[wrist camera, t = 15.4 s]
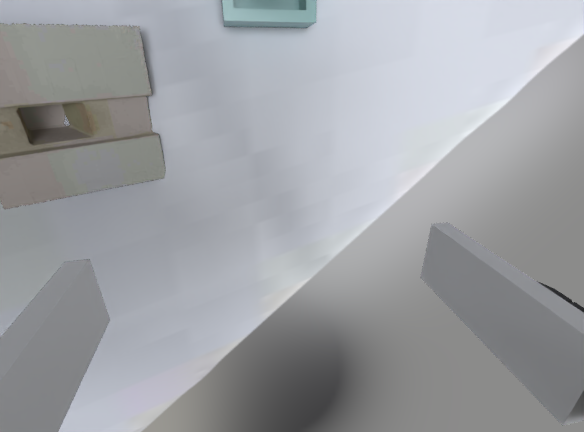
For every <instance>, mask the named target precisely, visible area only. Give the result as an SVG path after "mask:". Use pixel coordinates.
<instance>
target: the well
mask: <svg viewBox="0 0 584 432" xmlns="http://www.w3.org/2000/svg"><path fill="white" fill-rule="evenodd" d="M222 9H223V20H224V26H229V27H285V28H307V27H309V26H311V25H312V24H314V23H316V0H222Z"/></svg>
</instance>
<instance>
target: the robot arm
mask: <svg viewBox="0 0 584 432" xmlns="http://www.w3.org/2000/svg"><path fill="white" fill-rule="evenodd" d="M421 279H422V280H423V281H424V282H425V283H426V284H427V285H428V286H429V287H430V288H431V289H432V290H433V291H434V292H435V293H436V295H437V296H438V297H439V298H440V299H441V300H442V301H443V302H444V303H445V304H446V305H447V306H448V307H449V308H450V309H451V310H452V311H453V312H454V313H455V314H456V315H457V316H458V317H459V318H460V320H461V321H462V322H463V323H464V324H465V325H466V326H467V327H468V328H469V329H470V330H471V331H472V332H473V333H474V334H475V335H476V336H477V337H478V338H479V339H480V340H481V341H482V342H483V344H485V346H486V347H487V348H488V349H489V350H490V351H491V352H492V353H493V354H494V355H495V356H496V357H497V358H498V359H499V360H500V361H501V362H502V363H503V364H504V365H505V366H506V367H507V369H508V370H510V372H511V373H512V374H513V375H514V376H515V377H516V378H517V379H518V380H519V381H520V382H521V383H522V384H523V385H524V386H525V387H526V388H527V389H528V390H529V391H530V392H531V393H532V395H533V396H534V397H535V398H536V399H537V400H538V401H539V402H540V403H541V404H542V405H543V406H544V407H545V408H546V409H547V410H548V411H549V412H550V413H551V414H552V415H553V416H554V418H555V419H557V421H558V422H559V423H561V425H562V426H563V425H568V424H572V423H575V422H580V421H584V308H583V307H581V306H580V305H578V304H577V303H575V302H574V303H573V302H572V300H571V299H569V298H567V297H566V296H565V295H563V294H562V293H560V292H558V291H557V290H555V289H553V288H551V287H549V286H547V285H544V284H542V283H540V282H538V281H535V280H533V279H532V278H531V277H529V276H528V275H526V274H525V273H523V272H522V271H520V270H519V269H517V268H516V267H514V266H513V265H511V264H510V263H508V262H507V261H505V260H504V259H502V258H501V257H499V256H498V255H496V254H495V253H493V252H492V251H490V250H489V249H487V248H486V247H484V246H483V245H481V244H480V243H478V242H477V241H475V240H474V239H472V238H471V237H469V236H468V235H466V234H464V233H463V232H462V231H460V230H459V229H457V228H456V227H454V226H453V225H451V224H450V223H448V222H446V223H436V224H432V225H431V229H430V234H429V239H428V244H427V248H426V254H425V258H424V263H423V268H422V273H421ZM109 321H110V318H109V315H108V312H107V309H106V306H105V303H104V300H103V297H102V295H101V292H100V289H99V286H98V283H97V280H96V277H95V274H94V271H93V268H92V265H91V262H90V259H86V260H77V261H67V262H64V263H63V265H62V266H61V267H60V268H59V269H58V270H57V272H56V273H55V274H54V275H53V276H52V278H51V279H50V280H49V281H48V282H47V283H46V285H45V286H44V287H43V288H42V289H41V290H40V292H39V293H38V294H37V295H36V296H35V298H34V299H33V300H32V301H31V302H30V303H29V305H28V306H27V307H26V308H25V309H24V310H23V312H22V313H21V314H20V315H19V316H18V318H17V319H16V320H15V321H14V322H13V323H12V325H11V326H10V327H9V328H8V329H7V330H6V332H5V333H4V334H3V335H2V336H1V338H0V432H58V431H59V429H60V427H61V425H62V422H63V420H64V418H65V416H66V414H67V412H68V409H69V407H70V405H71V403H72V401H73V399H74V397H75V394H76V392H77V390H78V388H79V386H80V384H81V381H82V379H83V377H84V375H85V373H86V371H87V369H88V366H89V364H90V362H91V360H92V358H93V356H94V354H95V351H96V349H97V347H98V345H99V343H100V341H101V338H102V336H103V334H104V332H105V330H106V328H107V326H108V323H109Z"/></svg>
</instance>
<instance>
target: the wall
mask: <svg viewBox="0 0 584 432" xmlns="http://www.w3.org/2000/svg"><path fill="white" fill-rule="evenodd" d="M139 32H140V28H139V26H138V27H137V26H133V28H131V26H130V25H129V26H128V27H127V25H126V26H125V25H124V26H123V25H122V26H119V27H118V26H117V25H116V26H114V25H113V26H109V27H108V26H106V25H105V26H103V25H100V26H98V25H95V26H93V25H92V26H90V25H86V26H84V25H77V24H76V25H69V26H68V25H64V24H61V25H59V24H56V25H54V24H51V25H50V24H47V25H44V24H43V25H42V24H39V25H35V24H33V25H31V24H26V23H24V24H17V23H16V25H15V24H14V23H13V24H12V25H8V24H3V23H1V24H0V199H1V202H2V203H1V204H2V205H3V208H4V209H10V208H13V207H19V206H22V205H25V206H26V205H31V204H33V203H34V204H36V203H39V202H46V201H48V200H50V201H51V200H57V199H61V198H66V197H72V195H75V196H77V195H80V194H85V193H90V192H93V191H94V192H95V191H101V190H107V189H111V188H114V187H115V188H116V187H122V186H123V185H125V186H126V185H131V184H132V185H133V184H134V183H135V184H136V183H143V182H146V181H154V179H155V180H158V179H163V178H164V176H165V171H166V170H165V165H164V164H165V163H164V160H163V159H164V158H163V156H162V155H163V152H162V151H161V145H160V139H159V134H156V133H153V131H152V130H151V128H152V123H151V119H150V114H149V109H148V101H147V97H146V96H151V95H152V93H151V89H150V82H149V79H148V78H149V77H148V71H147V66H146V62H144V60H145V57H144V52H143V47H142V46H143V43H142V39H141V35H140V33H139ZM65 115H66V117H67V119H68V121H69V123H70V125H69V126H66V125H64V119H65Z"/></svg>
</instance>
